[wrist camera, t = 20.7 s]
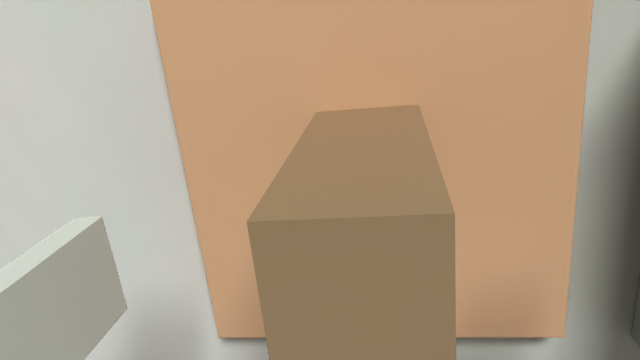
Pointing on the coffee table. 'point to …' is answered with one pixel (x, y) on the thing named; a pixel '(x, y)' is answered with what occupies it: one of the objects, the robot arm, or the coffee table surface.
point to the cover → (380, 167)
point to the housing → (637, 319)
